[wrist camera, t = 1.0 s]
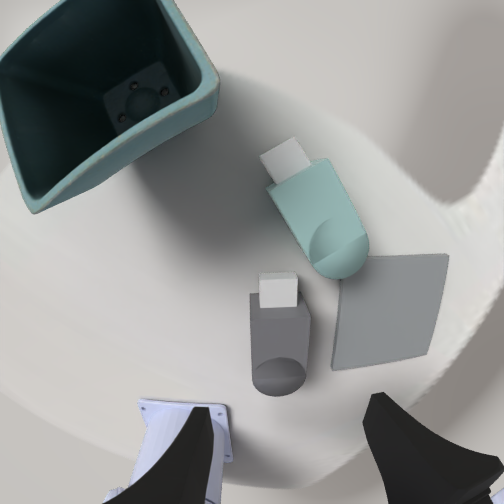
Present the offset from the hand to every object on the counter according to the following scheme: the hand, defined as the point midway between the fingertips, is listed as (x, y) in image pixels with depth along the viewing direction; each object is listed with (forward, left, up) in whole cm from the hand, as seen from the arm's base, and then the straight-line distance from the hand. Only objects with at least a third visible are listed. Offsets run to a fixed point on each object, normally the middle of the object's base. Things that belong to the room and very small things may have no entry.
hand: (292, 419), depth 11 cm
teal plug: (+8, -2, -9) cm, 12 cm away
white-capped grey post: (0, 0, -9) cm, 9 cm away
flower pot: (+15, +8, -9) cm, 19 cm away
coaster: (0, -9, -9) cm, 13 cm away
